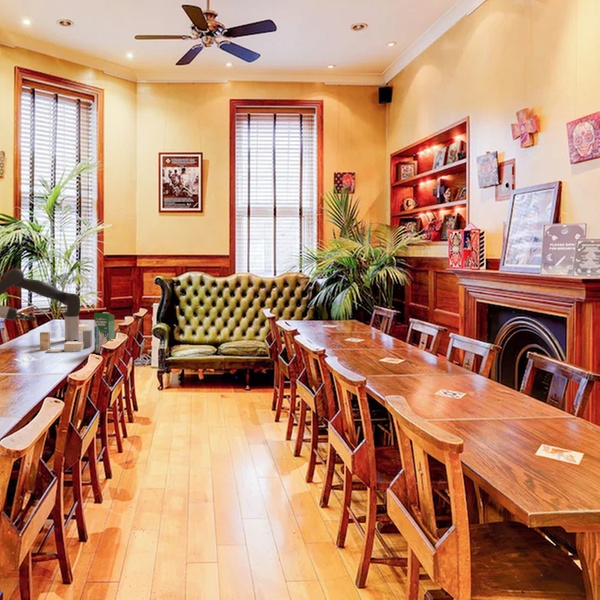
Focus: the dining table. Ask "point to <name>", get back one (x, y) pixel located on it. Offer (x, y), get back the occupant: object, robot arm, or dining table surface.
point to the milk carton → (103, 329)
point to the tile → (55, 350)
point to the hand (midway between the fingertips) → (35, 319)
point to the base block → (73, 345)
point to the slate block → (87, 338)
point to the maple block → (44, 340)
